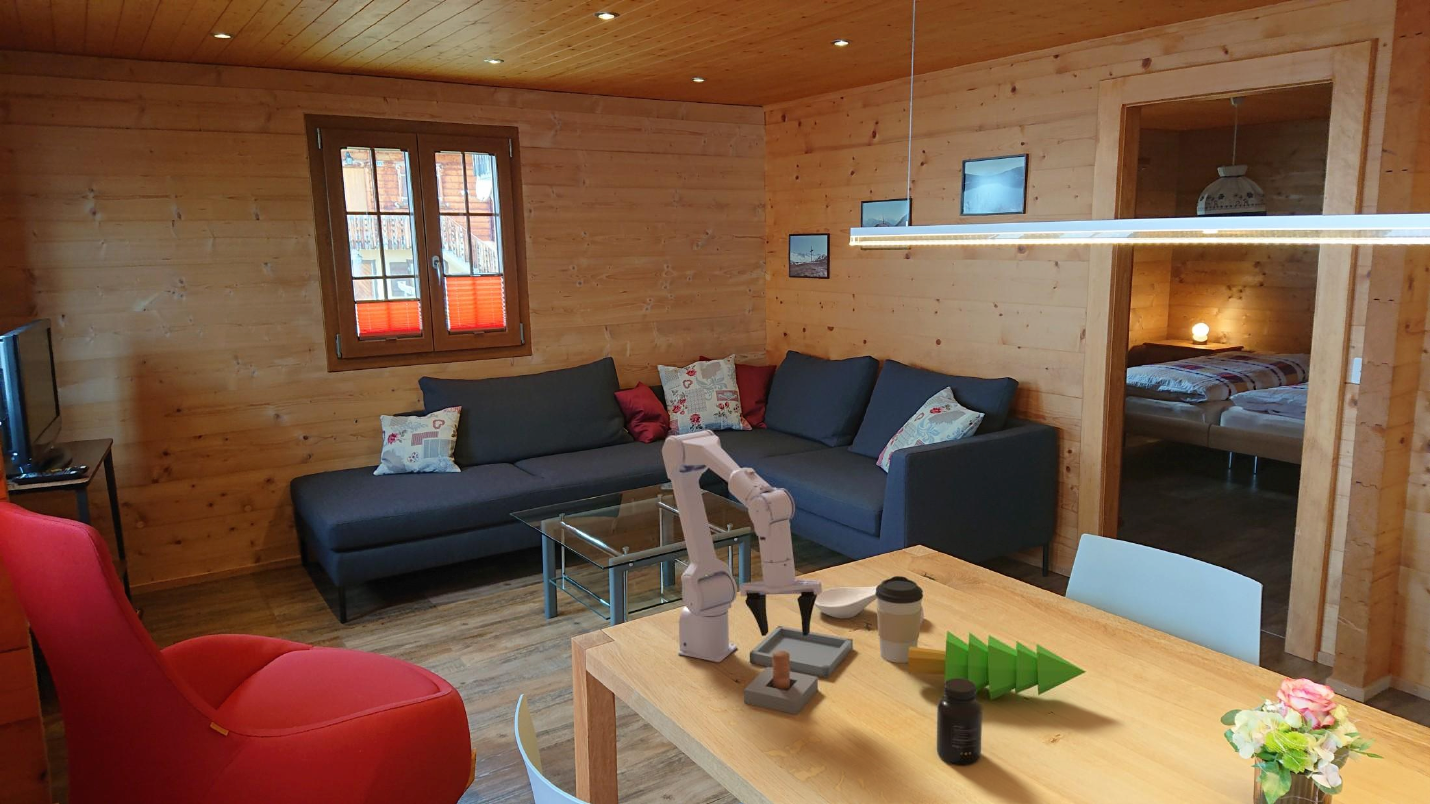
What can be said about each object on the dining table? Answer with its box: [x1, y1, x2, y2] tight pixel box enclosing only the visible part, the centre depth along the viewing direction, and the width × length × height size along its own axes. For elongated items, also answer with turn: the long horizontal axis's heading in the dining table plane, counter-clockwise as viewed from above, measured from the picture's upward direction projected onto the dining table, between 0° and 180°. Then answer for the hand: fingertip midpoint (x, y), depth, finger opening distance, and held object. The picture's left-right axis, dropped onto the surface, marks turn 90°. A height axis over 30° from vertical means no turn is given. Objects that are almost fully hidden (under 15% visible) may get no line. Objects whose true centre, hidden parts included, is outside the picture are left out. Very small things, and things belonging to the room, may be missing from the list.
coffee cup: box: [875, 575, 924, 664], centre depth 185 cm, size 9×9×15 cm
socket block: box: [743, 666, 819, 716], centre depth 170 cm, size 10×10×2 cm
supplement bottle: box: [936, 678, 983, 767], centre depth 149 cm, size 7×7×12 cm
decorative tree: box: [907, 630, 1087, 701], centre depth 168 cm, size 11×12×30 cm
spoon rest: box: [814, 585, 925, 626], centre depth 205 cm, size 24×12×7 cm, turn 70°
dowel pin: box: [772, 651, 790, 691], centre depth 170 cm, size 3×3×8 cm
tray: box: [749, 625, 854, 679], centre depth 186 cm, size 16×14×2 cm
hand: (785, 634), depth 169 cm, fingers open, 7 cm apart
